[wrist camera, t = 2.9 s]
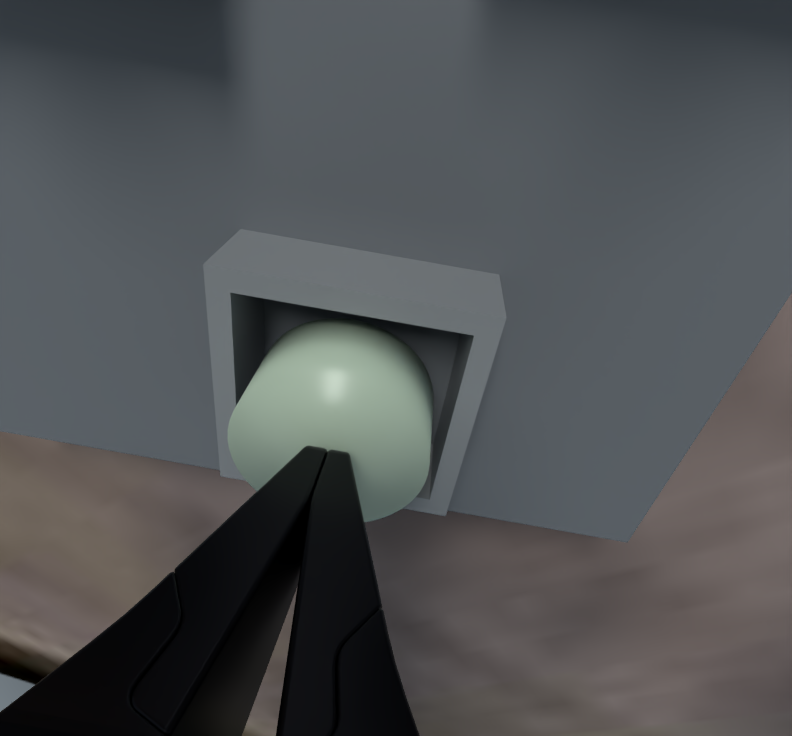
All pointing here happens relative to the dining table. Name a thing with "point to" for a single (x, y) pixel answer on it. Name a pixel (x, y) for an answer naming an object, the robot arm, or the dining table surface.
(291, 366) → the sage button
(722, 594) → the dining table surface
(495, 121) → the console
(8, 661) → the dining table surface
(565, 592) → the dining table surface
